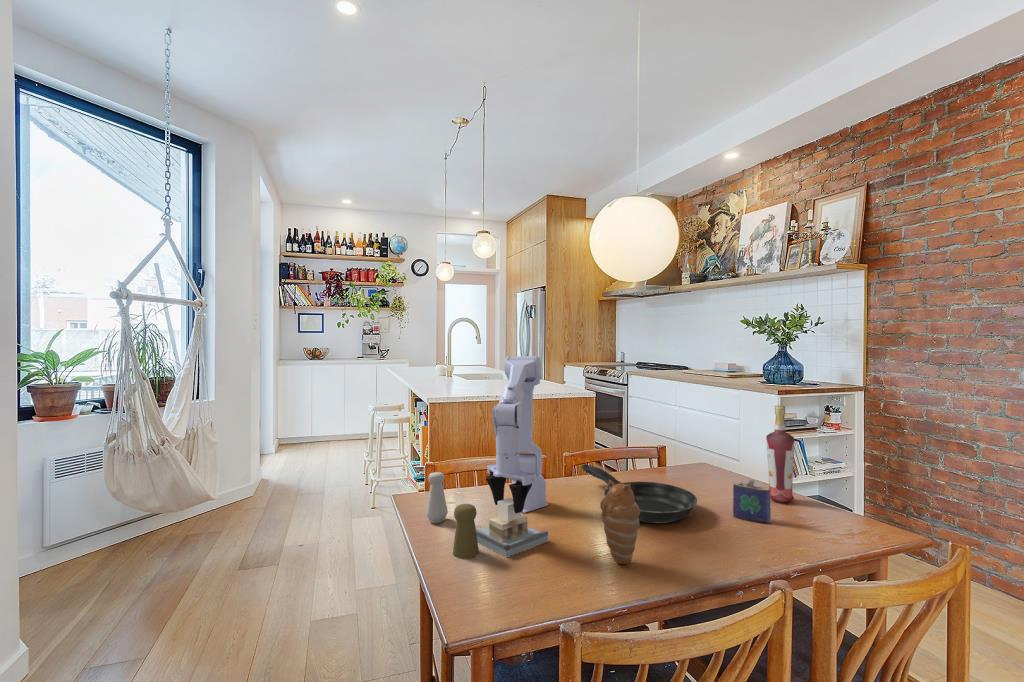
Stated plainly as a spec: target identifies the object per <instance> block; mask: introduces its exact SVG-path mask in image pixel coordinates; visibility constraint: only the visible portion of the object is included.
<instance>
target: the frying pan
mask: <svg viewBox="0 0 1024 682" xmlns="http://www.w3.org/2000/svg"><path fill="white" fill-rule="evenodd" d="M581 469H582V470H583V472H584V471H585V472H586V473H587V474H589V475H591V476H592V477H594V478H596V479H599V480H601V481H602V482H605V484H606V485H607V487H606V489H604V491H603V495H604V497H606V495H607V493H608V491H609V480H611V481H613V482H614V483H615V484H625V485H627V484H631V490H632V491H633V494H634V499H635V502H636V503H637V505H638V507H639V509H640V514H639V516H638V519H639V522H642V523H647V524H648V523H649V524H666V523H667V524H668V523H669V524H670V523H675V522H677V521H679V520H683V519H684V518H686V517H687V516H688V515H689V514H690V513H691V512H692V510H693V508H694V507H695V506H696V505H697V503H698V498H697V496H696V495H695V494H694V493H693V492H691V491H690V490H688V489H687V490H686V489H684V488H681V487H679V486H675V485H673V484H672V485H671V484H668V483H667V484H666V483H661V482H656V481H655V482H654V481H625V482H621V481H619V480H618V479H616V477H614V476H613V475H611V474H610V473H608V472H607V471H605V470H604V469H601V468H600V467H597V466H594V465H591V464H586V463H584V464H582V465H581Z"/></svg>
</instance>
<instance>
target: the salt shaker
mask: <svg viewBox="0 0 1024 682" xmlns="http://www.w3.org/2000/svg"><path fill="white" fill-rule="evenodd" d="M427 477H428V482H429V483H430V485H429V492H428V499H427V505H426V511H425V512H426V513H425V514H426V516H427V518H428V520H429V522H430V523H431V524H441V523H444V522H445V520H446V517H447V515H448V513H449V511H448V506H447V500H446V496H445V490H444V486H443V482H444V481H445V474H444V473H443V472H440V471H436V472H435V471H433V472H431V473H429V474H428V476H427Z"/></svg>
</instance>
